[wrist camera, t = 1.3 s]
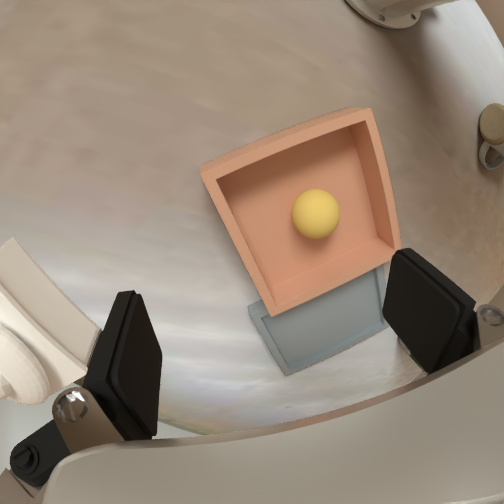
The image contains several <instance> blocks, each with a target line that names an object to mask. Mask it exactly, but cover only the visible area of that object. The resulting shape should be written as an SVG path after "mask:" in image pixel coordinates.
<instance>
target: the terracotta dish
mask: <svg viewBox="0 0 504 504" xmlns="http://www.w3.org/2000/svg"><path fill="white" fill-rule="evenodd" d="M200 175H201V178H202V180H203V182H204V184H205V186H206V188H207V190H208V192H209V194H210V196H211V198H212V200H213V202H214V204H215V206H216V208H217V210H218V212H219V214H220V216H221V218H222V220H223V222H224V224H225V226H226V228H227V230H228V232H229V234H230V236H231V238H232V240H233V242H234V244H235V246H236V248H237V250H238V252H239V254H240V256H241V258H242V260H243V262H244V264H245V266H246V268H247V270H248V272H249V274H250V276H251V278H252V280H253V282H254V284H255V286H256V288H257V290H258V292H259V294H260V296H261V298H262V300H263V302H264V304H265V306H266V308H267V310H268V312H269V314H270V315H271V317H273V316H275V315H277V314H279V313H282V312H284V311H286V310H288V309H291V308H293V307H295V306H297V305H300V304H302V303H304V302H306V301H308V300H310V299H313V298H315V297H317V296H319V295H321V294H323V293H325V292H327V291H329V290H332V289H334V288H336V287H338V286H340V285H342V284H344V283H346V282H348V281H350V280H352V279H354V278H356V277H358V276H360V275H362V274H364V273H366V272H368V271H370V270H372V269H374V268H376V267H378V266H379V265H381V264H383V263H385V262H387V261H389V260H391V259H392V256H393V255H394V254H395V252H396V251H397V250H400V249H402V248H401V240H400V233H399V226H398V220H397V214H396V208H395V202H394V197H393V192H392V187H391V182H390V178H389V173H388V169H387V164H386V160H385V156H384V152H383V148H382V144H381V141H380V137H379V133H378V130H377V126H376V123H375V120H374V116H373V113H372V110H371V108H345V109H342V110H339V111H336V112H333V113H330V114H327V115H324V116H321V117H318V118H315V119H312V120H309V121H306V122H304V123H301V124H298V125H295V126H293V127H290V128H287V129H285V130H282V131H280V132H277V133H275V134H272V135H269V136H267V137H265V138H262V139H260V140H257V141H255V142H252V143H250V144H248V145H245V146H243V147H241V148H238V149H236V150H234V151H231V152H229V153H227V154H225V155H223V156H220V157H218V158H216V159H214V160H212V161H209V162H207V163H205V164H203V165H201V168H200ZM310 189H321V190H324V191H327V192H328V193H330V194H331V195H332V196H333V197H334V198H335V199H336V200H337V202H338V204H339V207H340V221H339V224H338V226H337V228H336V229H335V230H334V231H333V232H332V233H331V234H330V235H328V236H326V237H323V238H318V239H314V238H309V237H306V236H304V235H303V234H301V233H300V232H299V231H298V230H297V229H296V228H295V226H294V224H293V222H292V218H291V209H292V205H293V203H294V201H295V199H296V198H297V197H298V196H299V195H300V194H301V193H302V192H304V191H307V190H310Z"/></svg>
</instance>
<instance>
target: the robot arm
mask: <svg viewBox="0 0 504 504" xmlns="http://www.w3.org/2000/svg"><path fill="white" fill-rule="evenodd" d="M346 1H347V2H348V3H349V4H350V6H351V7H352V8H354V9H355V10H356V11H357V12H358V13H359V14H361V15H362V16H363V17H365V18H366V19H368V20H370V21H371V22H373V23H375V24H377V25H380V26H382V27H385V28H390V29H403V28H407V27H410V26H412V25H414V24H415V23H416V22H417V21H418V19H419V18H420V15H421V10H425V9H428V8H431V7H435V6H438V5H442V4H446V3H450V2H454V1H459V0H346ZM475 304H476V301H475V300H474V299H472V298H471V297H470V296H469V295H468V294H467V293H466V292H464V291H463V290H462V289H461V288H460V287H459V286H457V285H456V284H455V283H454V282H453V281H451V280H450V279H449V278H448V277H447V276H445V275H444V274H443V273H442V272H440V271H439V270H438V269H437V268H436V267H434V266H433V265H432V264H430V263H429V262H428V261H427V260H425V259H424V258H423V257H422V256H420V255H419V254H418V253H416V252H415V251H414V250H412V249H411V248H405V249H400V250H397V251H396V252H395V254H394V255H393V256H392V260H391V266H390V272H389V278H388V283H387V288H386V294H385V299H384V303H383V308H382V314H383V317H384V319H385V320H386V321H387V323H388V324H389V325H390V326H391V328H392V329H393V330H394V331H395V333H396V334H397V335H398V337H399V338H400V339H401V340H402V342H403V343H404V344H405V346H406V347H407V348H408V350H409V351H410V352H411V354H412V355H413V356H414V358H415V359H416V360H417V362H418V363H419V364H420V366H421V367H422V368H423V370H424V371H425V372H426V373H429V374H430V375H428V376H426V377H424V378H421V379H419V380H417V381H414V382H412V383H410V384H407V385H405V386H403V387H400V388H398V389H395V390H393V391H390V392H388V393H385V394H382V395H380V396H377V397H374V398H371V399H368V400H366V401H363V402H360V403H357V404H354V405H350V406H347V407H344V408H341V409H338V410H334V411H331V412H327V413H324V414H320V415H316V416H312V417H308V418H304V419H300V420H296V421H292V422H287V423H283V424H278V425H273V426H268V427H262V428H257V429H251V430H244V431H238V432H230V433H223V434H214V435H206V436H196V437H185V438H168V439H152V436H156V434H157V421H158V405H159V391H160V378H161V367H162V351H161V348H160V346H159V343H158V340H157V338H156V335H155V333H154V330H153V327H152V324H151V322H150V319H149V316H148V313H147V310H146V307H145V304H144V301H143V298H142V296H141V294H136V292H135V291H134V290H132V291H124V292H118V294H117V296H116V299H115V301H114V304H113V306H112V309H111V312H110V314H109V317H108V319H107V322H106V325H105V327H104V330H103V331H102V332H101V333H100V335H99V338H98V341H97V343H96V346H95V349H94V352H93V355H92V358H91V361H90V364H89V367H88V370H87V373H86V376H85V380H84V383H83V386H82V388H80V387H74V388H69V389H67V390H65V391H63V392H62V393H61V394H59V395H58V397H57V398H56V399H55V401H54V403H53V406H52V414H53V418H54V419H53V420H51V421H50V422H49V423H47V424H46V425H44V426H43V427H41V428H40V429H39V430H37V431H36V432H34V433H33V434H31V435H30V436H28V437H27V438H26V439H24V440H23V441H21V442H20V443H18V444H17V445H16V446H15V447H14V449H13V450H12V452H11V456H10V466H11V469H10V470H8V469H7V468H6V469H5V470H4V471H3V473H2V474H1V475H0V504H504V312H503V311H501V309H499V308H497V307H496V306H493V305H488V304H485V305H481V306H479V307H478V309H477V311H476V312H475V311H473V309H474V306H475Z"/></svg>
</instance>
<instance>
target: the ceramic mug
mask: <svg viewBox="0 0 504 504" xmlns="http://www.w3.org/2000/svg"><path fill="white" fill-rule="evenodd" d="M479 126H480V132H481V135H482V137H483V138H484V142H483V144H482V145H481V148H480V151H479V159H480V162H481V163H482V164H483V165H484V167H485V168H487V169H488V170H495V169H497V168H498V167H500V166H501V165H502V164H503V163H504V106H503V105H500V104H495V103H494V104H490V105H488V106H487V107H486V108H485V109H484V110H483V112H482V114H481V116H480V122H479ZM490 146H491V147H492V148H493V149H495V150H496V151H497V152H498V153H499V154H500V155H499V156H498V157H497V159H496V160H494V161H493V162H492V163H490V164H488V163H486V162H485V155H486V153H487V151H488V149H489V147H490Z"/></svg>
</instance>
